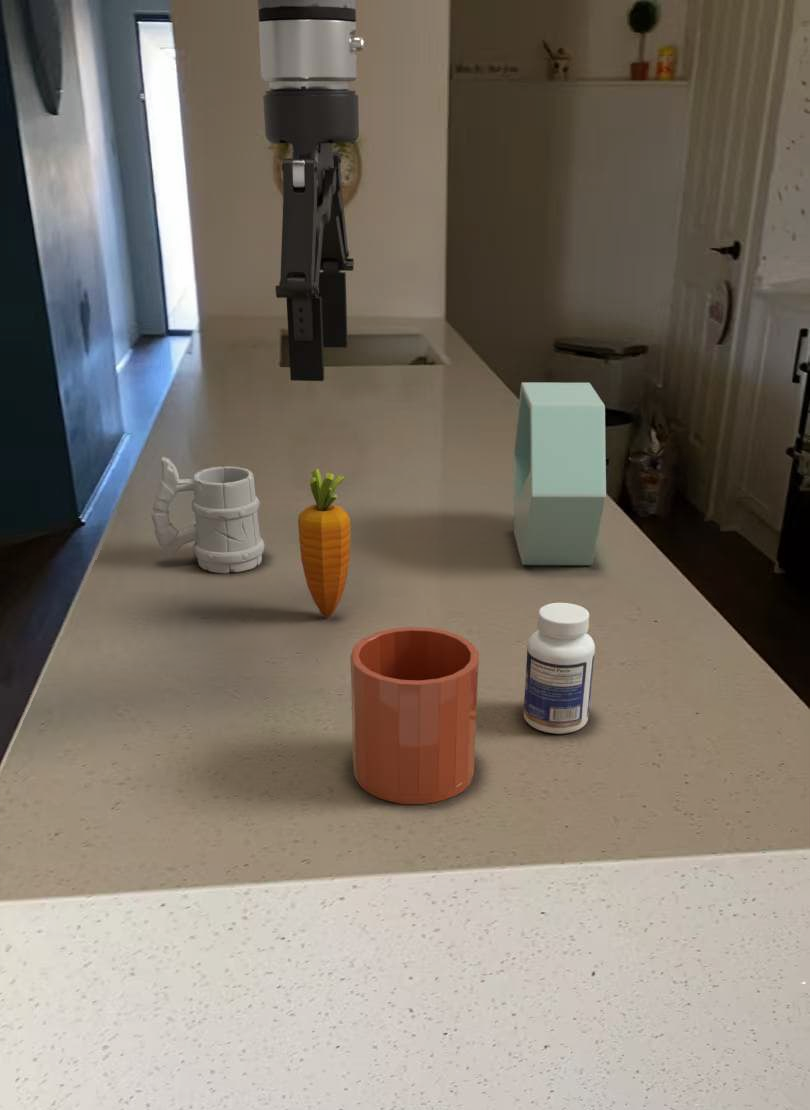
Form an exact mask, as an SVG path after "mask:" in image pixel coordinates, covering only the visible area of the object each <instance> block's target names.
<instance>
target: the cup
mask: <svg viewBox="0 0 810 1110" xmlns="http://www.w3.org/2000/svg"><path fill="white" fill-rule="evenodd" d="M350 653H351V654H350V686H351V687H350V691H351V737H352V739H351V740H352V764H353V776H354V779H355V780H356V782H357V784H358V785H359V786H360V787H361V789H363V790H364V791H365V792H367V793H368V794H370V795H372V796H374V797H376V798H378V799H380V800H384V801H387V802H392V803H395V804H402V805H426V804H433V803H434V804H435V803H438V802H442V801H446V800H449V799H451V798H453V797H455V796H457V795H459V794H460V793H462V792H463V791H465V790H466V789H467V788H468V787H469V785H470V784H471V783H472V781H473V778H474V774H475V759H476V758H475V757H476V735H477V733H476V732H477V712H478V711H477V709H478V707H477V706H478V685H479V684H478V681H479V663H480V659H479V658H480V653H479V651H478V650H477V648H476V646H475V645H474V643H473V642H471V641H470V640H468V639H467V638H465V637H464V636H462V635H459V634H457V633H455V632H451V631H448V630H444V629H439V628H434V627H421V626H405V627H395V628H389V629H384V630H381V631H378V632H374V633H372V634H370V635H368V636H365V637H363V638H362V639H360V640H359V641H358V642H357V643H356V644H354V645H353V647H352V649H351V652H350Z"/></svg>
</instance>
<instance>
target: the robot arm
mask: <svg viewBox="0 0 810 1110" xmlns="http://www.w3.org/2000/svg"><path fill="white" fill-rule="evenodd" d="M257 8H258V38H259V40H258V41H259V56H260V57H259V59H260V78H261V79H262V81H264V82H268V85H269V90H265V91H264V93H265V94H264V95H262V101H263V103H262V104H263V118H264V135H265V138H266V140H267V141H269V142H271V143H272V144H273V143H274V144H291V147H292V148H291V149H292V153H291V158H283V159H282V164H281V171H282V184H283V185H282V187H283V188H282V190H283V191H282V193H283V195H282V220H281V222H282V223H281V249H280V250H281V251H280V253H281V255H280V256H281V257H280V277H279V278H280V279H279V282H278V283H279V284H278V285H275V296H276V298H277V299H285V300H286V313H287V314H286V317H287V318H286V319H287V335H288V336H287V337H288V354H289V356H288V357H289V374H290V381H293V382H294V381H296V382H297V381H299V382H302V381H303V382H324V381H325V359H324V358H325V357H324V356H325V354H324V353H325V351H324V348H347V347H348V346H349V345H348V343H349V341H348V310H347V308H348V307H347V306H348V305H347V304H348V303H347V272H351V271H352V272H353V271H354V268H355V262H354V258H353V257H352V258H351V257H350V250H349V247H348V237H347V228H346V217H345V216H346V215H345V206H344V197H343V188H342V187H343V186H342V173H341V172H342V170H341V169H342V168H341V162H342V156H341V153H340V151H339V150H333V148H332V147H333V145H332V144H350V143H354V142H356V141H357V140H358V138H359V135H360V123H359V122H360V119H359V118H360V117H359V94H356V92H357V91H356V90H350V83H351V82H355V81H356V79H357V78H358V61H357V55H356V53H355V52H362V51H363V50H364V49H365V44H366V43H365V41H364V37H361V36H355V35H356V33H357V24H356V22H357V15H356V13H357V12H356V11H357V10H356V0H257ZM349 257H350V258H349ZM343 271H344V272H343ZM346 271H347V272H346Z"/></svg>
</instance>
